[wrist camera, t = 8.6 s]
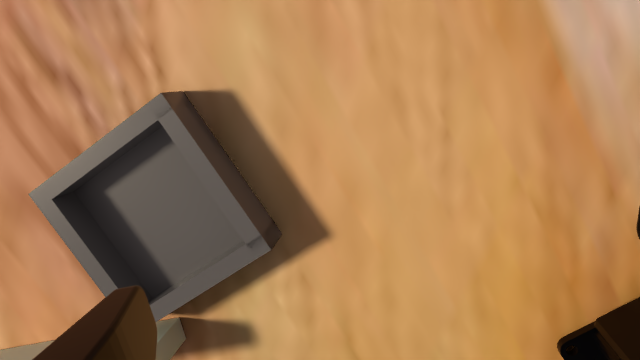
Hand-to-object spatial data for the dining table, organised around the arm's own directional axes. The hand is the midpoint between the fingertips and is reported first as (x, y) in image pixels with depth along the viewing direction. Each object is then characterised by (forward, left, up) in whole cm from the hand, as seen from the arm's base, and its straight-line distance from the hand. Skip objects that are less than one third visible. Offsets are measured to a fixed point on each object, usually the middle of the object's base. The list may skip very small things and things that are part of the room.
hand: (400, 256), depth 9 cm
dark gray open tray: (+3, +11, -14) cm, 17 cm away
